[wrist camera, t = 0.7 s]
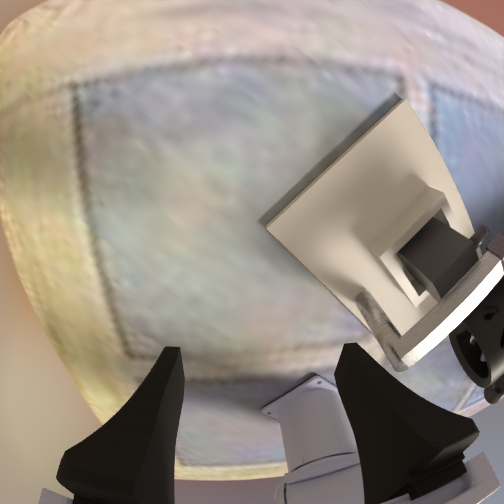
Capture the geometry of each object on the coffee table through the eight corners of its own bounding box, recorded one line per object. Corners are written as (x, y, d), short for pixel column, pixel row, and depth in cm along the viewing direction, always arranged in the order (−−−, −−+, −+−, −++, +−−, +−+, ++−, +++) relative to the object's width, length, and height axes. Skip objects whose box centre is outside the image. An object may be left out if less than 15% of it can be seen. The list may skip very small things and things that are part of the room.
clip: (456, 220, 20) (519, 260, 13) (361, 311, 23) (401, 378, 16) (448, 203, 19) (515, 241, 12) (349, 298, 22) (390, 367, 15)
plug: (459, 224, 21) (504, 253, 15) (410, 274, 22) (448, 314, 17) (443, 191, 19) (494, 215, 14) (390, 245, 21) (433, 283, 15)
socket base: (479, 253, 23) (494, 264, 21) (384, 344, 26) (394, 360, 24) (401, 99, 17) (422, 98, 14) (265, 225, 20) (270, 240, 18)
